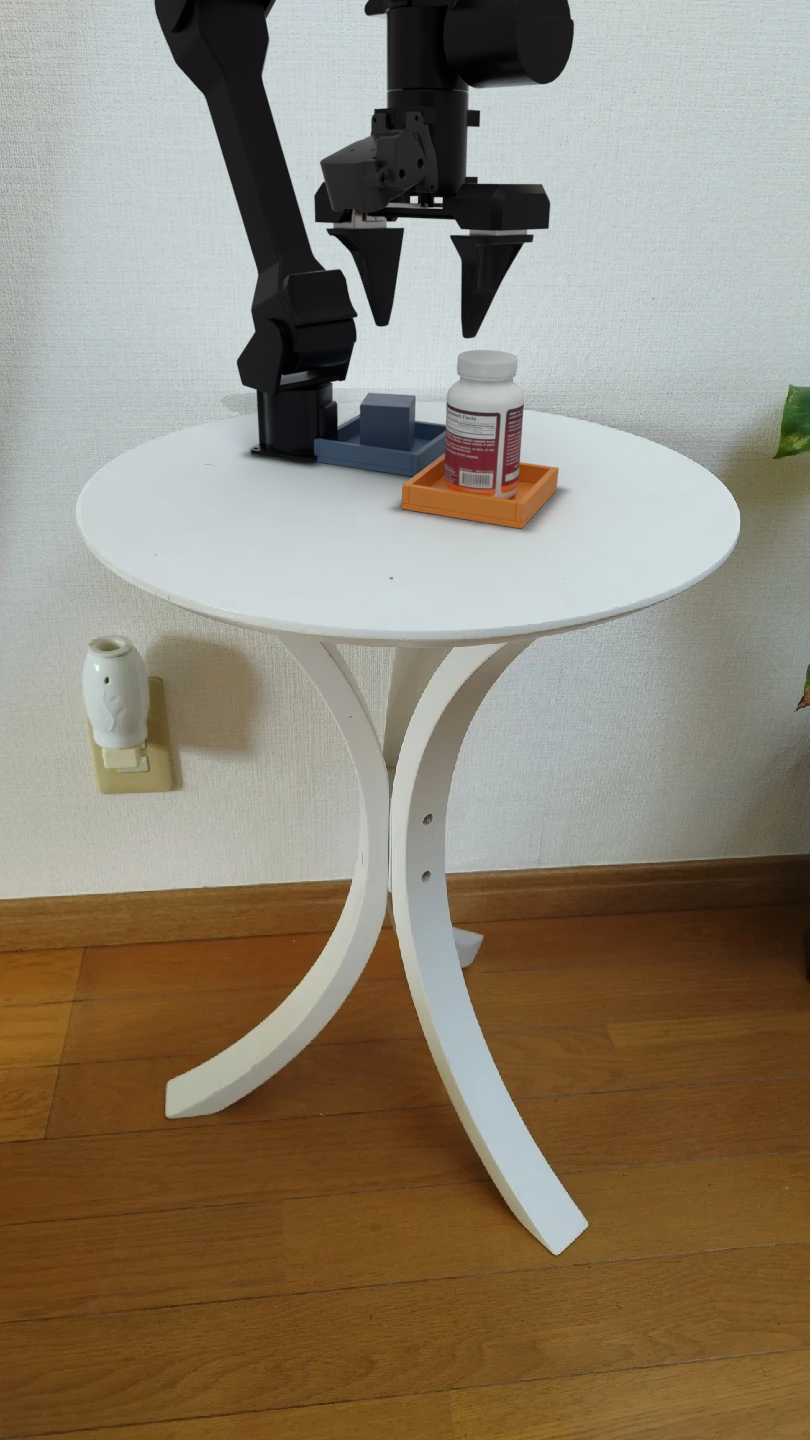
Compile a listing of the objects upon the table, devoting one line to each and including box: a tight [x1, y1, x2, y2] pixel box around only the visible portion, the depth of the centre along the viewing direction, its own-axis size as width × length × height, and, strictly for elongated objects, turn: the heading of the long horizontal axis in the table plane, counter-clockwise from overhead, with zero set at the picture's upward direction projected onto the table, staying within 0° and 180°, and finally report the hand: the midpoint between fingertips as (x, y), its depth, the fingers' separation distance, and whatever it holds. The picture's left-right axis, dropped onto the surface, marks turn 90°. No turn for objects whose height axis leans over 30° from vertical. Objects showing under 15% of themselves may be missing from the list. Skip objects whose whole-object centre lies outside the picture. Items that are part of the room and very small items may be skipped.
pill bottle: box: [444, 349, 525, 499], centre depth 82 cm, size 6×6×11 cm
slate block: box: [359, 392, 417, 452], centre depth 94 cm, size 4×4×4 cm
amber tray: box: [401, 453, 559, 529], centre depth 84 cm, size 10×10×2 cm
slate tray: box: [314, 413, 446, 478], centre depth 94 cm, size 10×10×2 cm
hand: (424, 331), depth 78 cm, fingers open, 9 cm apart
